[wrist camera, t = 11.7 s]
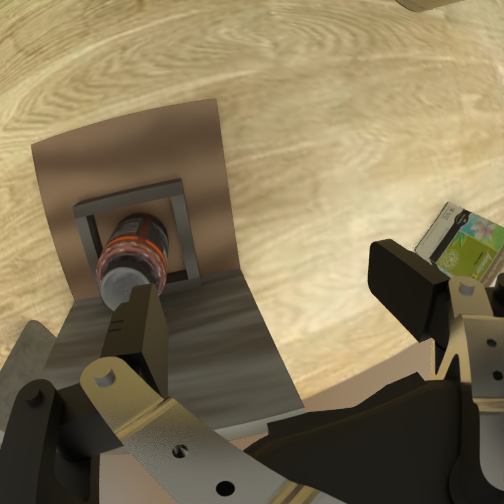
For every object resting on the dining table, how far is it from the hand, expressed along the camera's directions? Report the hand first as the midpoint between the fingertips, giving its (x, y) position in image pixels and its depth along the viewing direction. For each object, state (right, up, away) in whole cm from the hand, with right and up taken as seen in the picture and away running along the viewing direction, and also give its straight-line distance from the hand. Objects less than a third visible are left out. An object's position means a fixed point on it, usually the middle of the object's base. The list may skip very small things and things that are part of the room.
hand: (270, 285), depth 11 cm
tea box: (+31, +1, +32) cm, 45 cm away
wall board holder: (-13, +5, +19) cm, 24 cm away
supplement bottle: (-12, +3, +20) cm, 24 cm away
